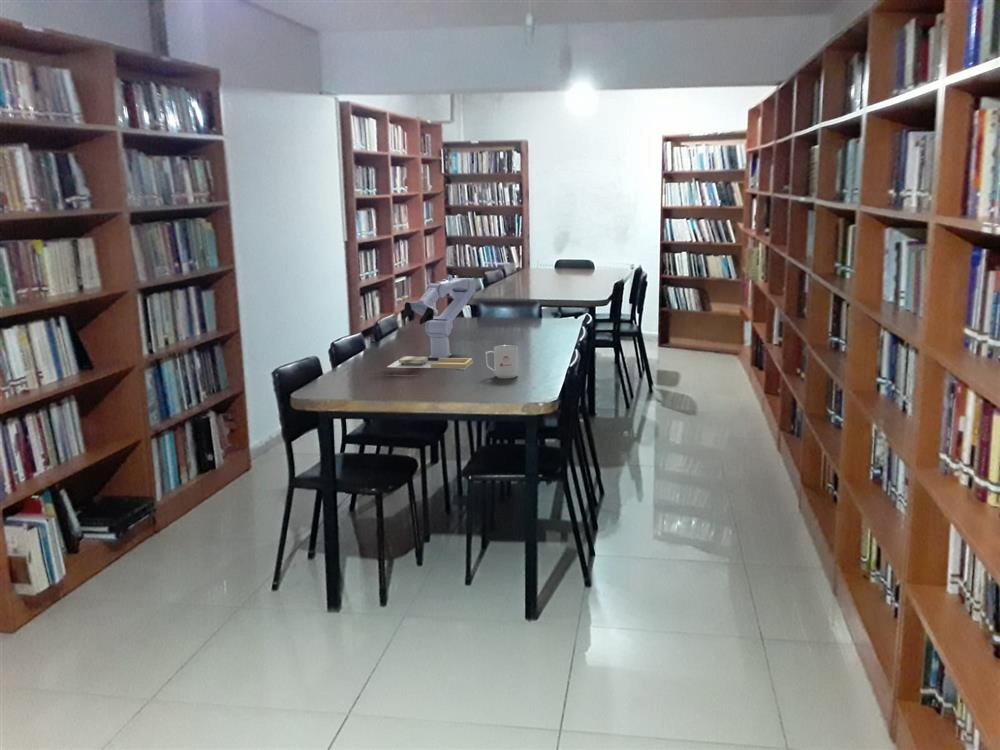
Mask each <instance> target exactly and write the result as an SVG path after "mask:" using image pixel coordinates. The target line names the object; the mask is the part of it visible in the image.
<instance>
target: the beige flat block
mask: <svg viewBox="0 0 1000 750" xmlns="http://www.w3.org/2000/svg"><path fill="white" fill-rule="evenodd" d="M428 357H429V356H408V355H407V356H405V355H403V356H402V357H401V358H399V359H398V360H399V363H401V365H404V363H419V365H422V363H425V362H426V361H429V358H428Z"/></svg>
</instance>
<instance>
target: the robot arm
mask: <svg viewBox="0 0 1000 750" xmlns="http://www.w3.org/2000/svg"><path fill="white" fill-rule="evenodd" d="M476 288H477V283H476V280H475V279H474V278H467V277H466V278H462V277H461V278H457V277H453V278H451V279H450V280H447V279H446V278H443V279H441V281H436V283H429V284H427V285H426V288H425V290H424V293H423V294H422V296H421V297H420V298H419V299H418V301H410V302H409V301H404V303H403V309H404V310H403V312H402V314H401V320H403V321H405V320H406V318H408V316H410V315H412V311H413V312H415V313H417V314H419V315H420V316H421V317H420V319H419V325H423V324H425V328H424V329H425V332H426V334H427V335H428V337H429V338H430V339H429V340H430V355H429V356H427V357H428V359H429V358H431V359H438V358H449V357H450V356H451V355H453V353H451V352H450V339H449V336H450V335H451V333H452V329H453V328H454V323H453V321H454V320H455V319H456V317H457V316H458V315H459V314H460V312H462V311H463V309H464V308H465V307H466V305H467V304H468V301H469V299H471V298H472V297H473V295H474V294H475V293H476ZM450 293H451V298H452V299H453V300H452V301H451V302H450V303H449V305H448V306H447V307H446V308H445V309H444V310H443V311H442V313H441V314H440V315H439V309H436V308H434V307H433V306H434V305H435V303H436V302H437V301H438V299H441V298H445V296H446V295H447V294H450Z"/></svg>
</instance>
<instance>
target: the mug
mask: <svg viewBox="0 0 1000 750" xmlns="http://www.w3.org/2000/svg"><path fill="white" fill-rule="evenodd" d="M518 350H519V347H518V346H517V345H511V344H502V345H496V346H494V347H493V350H489V351H485V362H486V364H485V365H486V367H487V368H488V369H489V370H491V371H492V372H493V373H494V375H495V377H496V378H498V379H512V378H513V379H514V378H516V377H517V376H518V375H519V351H518ZM490 353H492V354H493V361H494V363H493V367H494V368H492V367H491V366H489V362H488V354H490Z"/></svg>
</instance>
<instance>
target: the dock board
mask: <svg viewBox="0 0 1000 750" xmlns="http://www.w3.org/2000/svg"><path fill="white" fill-rule="evenodd" d="M437 359H438V360H427V361H426V362H425V363H422V365H419V363H404V365H401V363H399V359H398V360H395V361H394V362H392V363H391V364H389V365H387V368H408V369H409V368H411V369H412V368H413V369H414V368H415V369H417V368H418V369H456V371H457V370H458V371H459V370H461V371H462V370H463V371H465V370H467V369H468V368H469V367H470V366H471V365H473V363H474V361H473V357H472V358H471V357H470V358H469V357H468V358H467V357H466V358H465V357H447V358H437Z"/></svg>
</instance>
